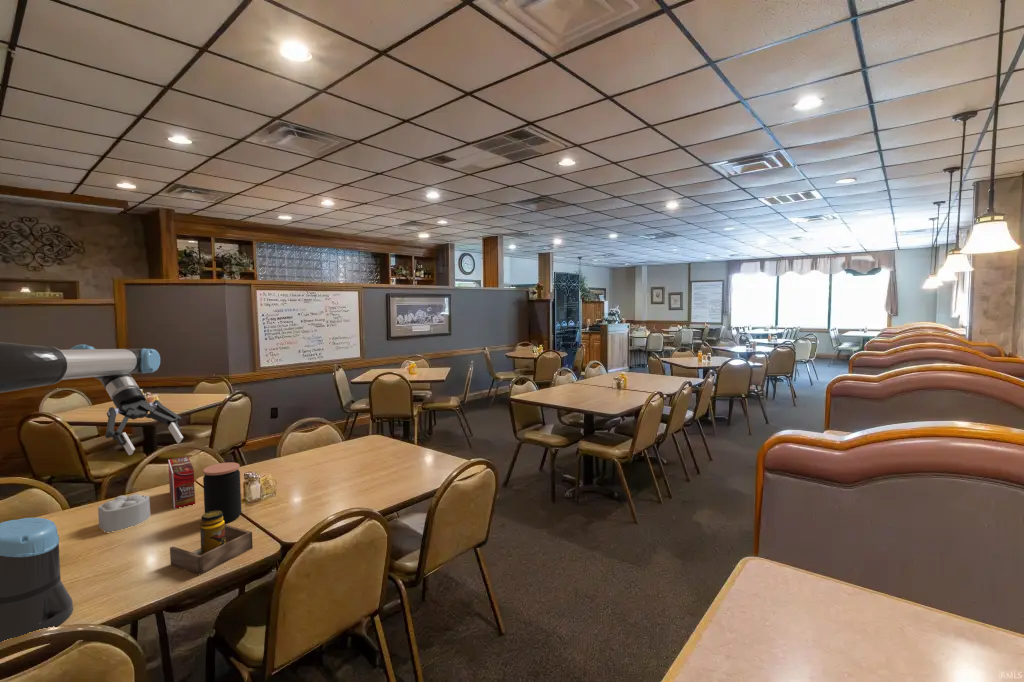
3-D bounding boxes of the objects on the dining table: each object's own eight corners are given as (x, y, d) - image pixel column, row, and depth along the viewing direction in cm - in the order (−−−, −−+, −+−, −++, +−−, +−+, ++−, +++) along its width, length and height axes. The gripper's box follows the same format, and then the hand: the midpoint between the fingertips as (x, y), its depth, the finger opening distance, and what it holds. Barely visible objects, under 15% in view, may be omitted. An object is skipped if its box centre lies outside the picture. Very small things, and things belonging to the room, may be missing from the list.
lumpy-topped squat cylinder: (96, 526, 154) (94, 501, 153) (143, 512, 164) (142, 488, 164) (107, 534, 148) (106, 508, 147) (156, 519, 159) (154, 495, 158)
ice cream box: (169, 492, 182) (168, 459, 181) (189, 488, 186) (188, 456, 185) (173, 509, 167) (172, 473, 166) (195, 504, 171) (193, 469, 170)
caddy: (200, 575, 125) (199, 557, 125) (170, 564, 130) (169, 547, 130) (252, 548, 140) (252, 531, 139) (224, 539, 145) (223, 524, 144)
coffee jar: (234, 509, 167) (232, 460, 166) (246, 517, 160) (244, 466, 159) (200, 519, 159) (198, 468, 158) (211, 528, 152) (209, 475, 151)
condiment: (227, 555, 134) (225, 515, 133) (191, 564, 129) (190, 522, 128) (227, 545, 140) (225, 506, 139) (193, 552, 135) (191, 513, 135)
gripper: (163, 395, 161) (193, 442, 156) (72, 409, 138) (104, 465, 133) (172, 381, 158) (203, 429, 153) (81, 393, 135) (114, 449, 130)
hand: (157, 446), depth 143 cm, fingers open, 13 cm apart
